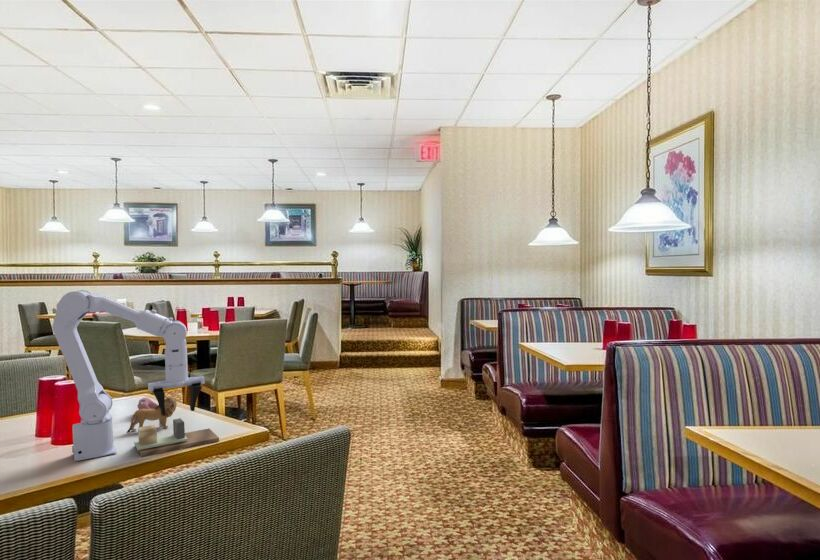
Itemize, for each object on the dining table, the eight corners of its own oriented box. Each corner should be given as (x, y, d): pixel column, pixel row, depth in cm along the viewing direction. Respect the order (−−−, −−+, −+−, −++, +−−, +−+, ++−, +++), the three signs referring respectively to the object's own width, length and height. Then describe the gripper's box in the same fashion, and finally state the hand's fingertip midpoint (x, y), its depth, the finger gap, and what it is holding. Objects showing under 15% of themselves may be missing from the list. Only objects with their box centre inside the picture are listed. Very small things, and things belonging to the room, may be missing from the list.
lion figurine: (174, 422, 172) (173, 394, 172) (180, 425, 168) (179, 397, 168) (124, 432, 162) (122, 403, 162) (129, 436, 158) (127, 406, 158)
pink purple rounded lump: (148, 415, 186) (138, 398, 185) (161, 408, 188) (151, 391, 186) (144, 423, 177) (133, 405, 176) (157, 416, 178) (146, 398, 177)
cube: (140, 445, 144) (140, 431, 144) (138, 441, 147) (138, 427, 147) (157, 442, 146) (156, 428, 146) (154, 438, 149) (154, 424, 149)
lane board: (141, 456, 141) (140, 453, 140) (135, 445, 150) (135, 442, 150) (219, 441, 152) (219, 437, 152) (209, 431, 161) (209, 428, 161)
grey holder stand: (137, 450, 142) (136, 431, 142) (134, 443, 148) (133, 425, 147) (187, 440, 149) (186, 422, 149) (182, 434, 155) (181, 417, 155)
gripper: (150, 369, 143) (152, 420, 143) (206, 363, 151) (208, 411, 151) (146, 366, 149) (148, 414, 149) (200, 360, 157) (202, 406, 157)
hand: (178, 412), depth 151 cm, fingers open, 7 cm apart
